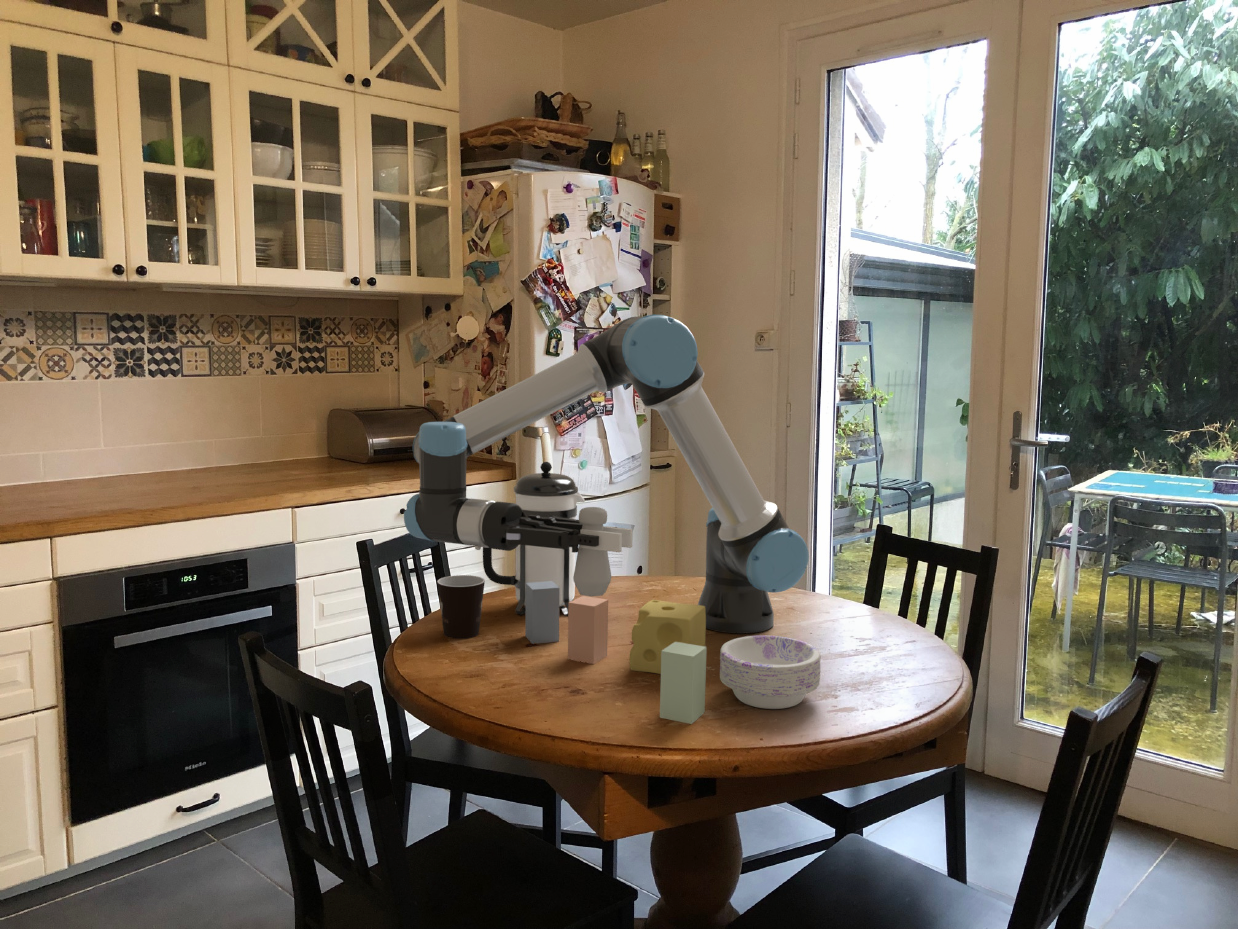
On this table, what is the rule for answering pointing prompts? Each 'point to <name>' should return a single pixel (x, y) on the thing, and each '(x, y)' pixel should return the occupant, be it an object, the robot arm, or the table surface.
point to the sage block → (683, 682)
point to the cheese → (664, 632)
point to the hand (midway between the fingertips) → (625, 540)
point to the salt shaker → (592, 557)
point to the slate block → (542, 612)
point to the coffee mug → (461, 605)
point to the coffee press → (542, 563)
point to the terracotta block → (587, 629)
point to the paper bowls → (770, 670)
